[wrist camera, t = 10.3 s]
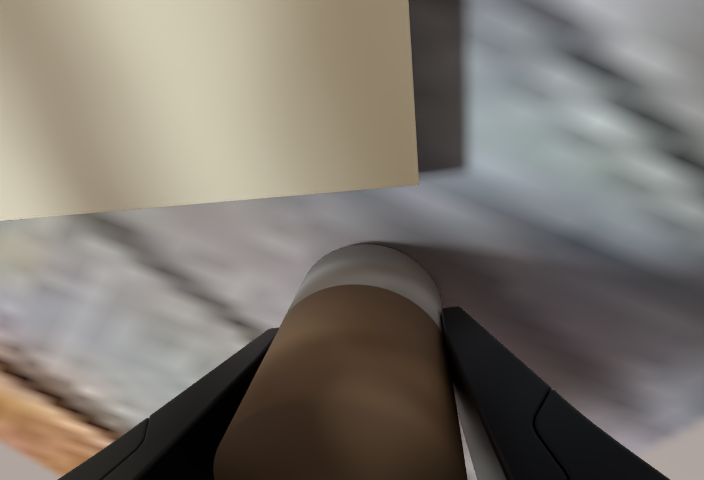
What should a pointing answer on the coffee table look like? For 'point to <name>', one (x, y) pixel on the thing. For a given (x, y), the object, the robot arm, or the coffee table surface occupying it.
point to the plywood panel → (200, 102)
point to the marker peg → (352, 381)
